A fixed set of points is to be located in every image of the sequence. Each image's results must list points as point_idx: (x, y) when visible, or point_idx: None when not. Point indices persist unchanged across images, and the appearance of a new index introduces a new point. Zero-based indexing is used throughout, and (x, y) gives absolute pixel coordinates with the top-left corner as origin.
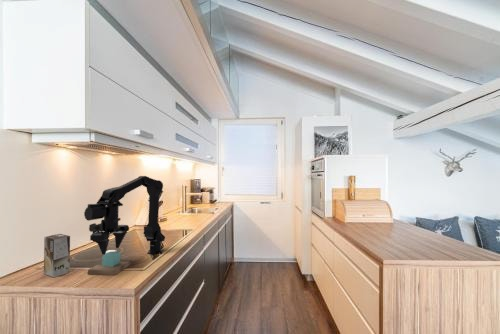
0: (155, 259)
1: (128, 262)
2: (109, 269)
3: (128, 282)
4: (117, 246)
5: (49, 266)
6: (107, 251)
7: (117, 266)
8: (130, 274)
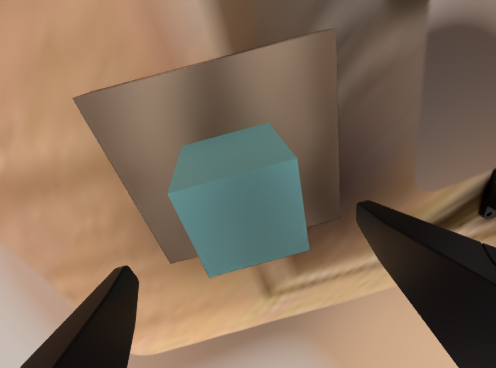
0: None
1: None
2: (168, 233)
3: (157, 327)
4: (367, 229)
5: None
6: None
7: None
8: (215, 287)
